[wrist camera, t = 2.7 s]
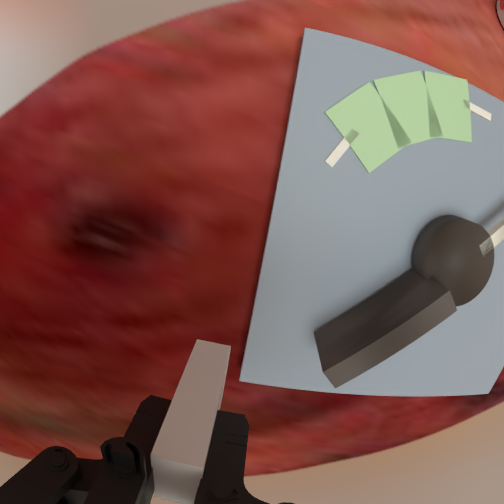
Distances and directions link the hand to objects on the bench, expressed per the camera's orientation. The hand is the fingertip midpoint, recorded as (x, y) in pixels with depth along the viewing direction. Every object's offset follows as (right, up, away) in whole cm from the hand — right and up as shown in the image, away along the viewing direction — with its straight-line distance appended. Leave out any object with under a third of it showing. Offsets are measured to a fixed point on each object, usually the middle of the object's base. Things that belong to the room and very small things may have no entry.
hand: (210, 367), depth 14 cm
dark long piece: (+14, +5, +4) cm, 15 cm away
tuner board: (+14, +5, +5) cm, 16 cm away
